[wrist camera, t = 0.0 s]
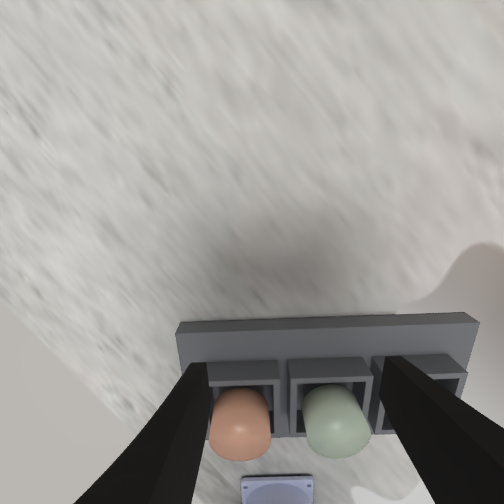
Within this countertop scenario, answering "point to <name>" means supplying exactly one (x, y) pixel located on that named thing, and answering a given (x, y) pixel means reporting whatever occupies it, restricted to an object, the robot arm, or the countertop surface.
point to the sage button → (334, 422)
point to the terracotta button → (240, 425)
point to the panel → (325, 358)
